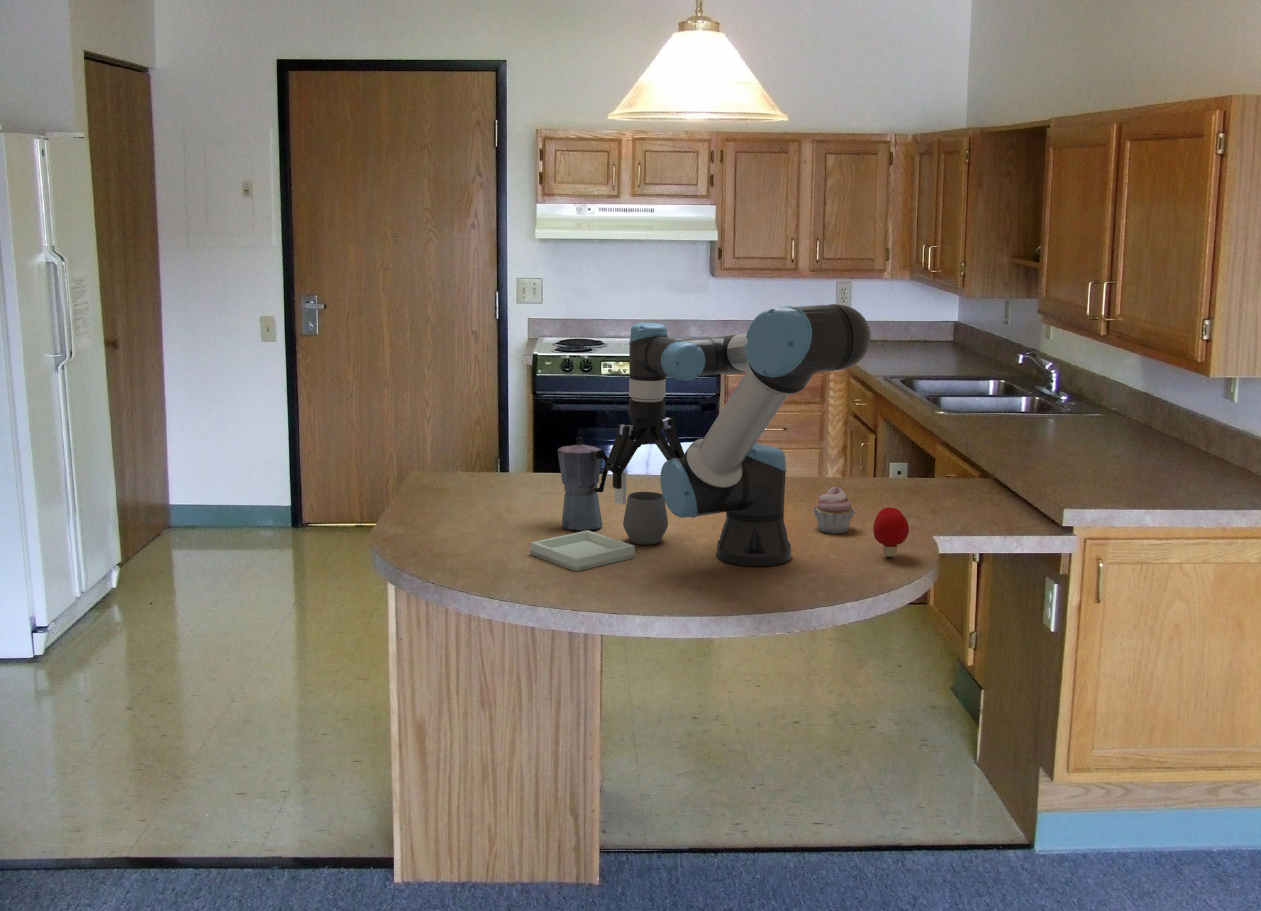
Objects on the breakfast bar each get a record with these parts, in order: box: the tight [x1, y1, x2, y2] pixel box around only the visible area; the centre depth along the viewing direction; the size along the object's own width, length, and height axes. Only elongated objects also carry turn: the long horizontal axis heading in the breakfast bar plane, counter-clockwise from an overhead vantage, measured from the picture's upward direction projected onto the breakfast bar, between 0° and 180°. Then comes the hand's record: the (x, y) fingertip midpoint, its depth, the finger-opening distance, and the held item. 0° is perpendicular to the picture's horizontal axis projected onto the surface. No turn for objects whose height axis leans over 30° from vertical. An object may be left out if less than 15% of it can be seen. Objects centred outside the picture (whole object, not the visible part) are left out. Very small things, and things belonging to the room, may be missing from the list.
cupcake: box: [812, 486, 856, 535], centre depth 287 cm, size 9×9×10 cm
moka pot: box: [557, 436, 609, 532], centre depth 286 cm, size 10×15×20 cm, turn 51°
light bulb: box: [872, 507, 910, 559], centre depth 267 cm, size 9×7×10 cm
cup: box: [622, 491, 669, 546], centre depth 277 cm, size 10×9×10 cm
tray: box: [529, 530, 636, 572], centre depth 267 cm, size 15×15×2 cm
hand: (644, 498), depth 276 cm, fingers open, 13 cm apart
